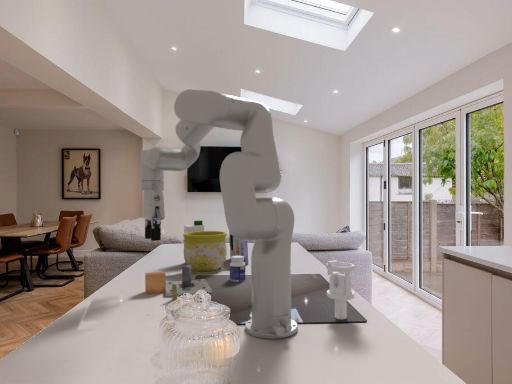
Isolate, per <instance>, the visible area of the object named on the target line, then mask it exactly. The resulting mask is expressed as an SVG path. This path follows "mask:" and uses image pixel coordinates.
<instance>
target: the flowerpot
mask: <svg viewBox="0 0 512 384" xmlns="http://www.w3.org/2000/svg"><path fill="white" fill-rule="evenodd" d="M227 235H228V234H227V232H226V231H220V230H204V231H196V232H187V233H184V232H183V234H182V236H183V238H184V237H185V240H184V239H183V257H184V258H183V259H184V263H185V262H186V263H185V264H186V265H190V266H191V275H198V274H199V275H200V274H210V273H212V274H213V273H221V271H223V267H222V266H223V265H224V264H225V262H226V259H227V254H228V250H227V242H226V241H227V238H226V236H227ZM184 242H185V244H184Z"/></svg>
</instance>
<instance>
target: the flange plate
mask: <svg viewBox="0 0 512 384" xmlns="http://www.w3.org/2000/svg"><path fill="white" fill-rule="evenodd" d="M144 273H145V274H144V278H145V280H144V283H145V284H144V285H145V286H144V287H145V288H144V289H145V290H144V292H145V295H146V294H147V295H148V294H158V293H159V294H160V293H165V294H164V295H165V297H166V298H168V297H172V284H177V297H178V296H180V295H181V296H183V295H182V294H184V293H190V294H192V295H196V294H195V293H196V291H198V290H199V289H204V290H205V291H207V292H208V293H207V294H211V293H212V292H213V291H212V290H213V289H212V287H211V286H210V285H209V283H208V281H207V279H205V278H199V279H191V287H185V288H182V280H175V281H167V280H166V278H167V277H166V275H167V274H166V271H152V272H151V271H149V272H144Z"/></svg>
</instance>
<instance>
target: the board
mask: <svg viewBox="0 0 512 384" xmlns="http://www.w3.org/2000/svg"><path fill="white" fill-rule="evenodd" d="M191 280H192V274H191V266H190V265H187V264H186V265H182V266H181V281H182V288H185V287H191ZM171 300H172V301H177V300H178V296H177V284H172V296H171Z"/></svg>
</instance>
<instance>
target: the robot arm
mask: <svg viewBox="0 0 512 384" xmlns="http://www.w3.org/2000/svg"><path fill="white" fill-rule="evenodd" d="M173 110H174V113H175V116H176V117H177V118H178V119H179V121H178V122H177V123H176V125H175V133H176V136H177V138H178V139H179V140H180V141H181V142H182V143H183V144H185V145H184V146H183V147H182V148H174V147H164V146H163V147H162V146H161V147H160V146H155V147H152V148H150V149H145V150H142V151H141V153H140V191H141V192H142V193H143V194H142V217H143V219H144V239H146V240H148V239H150V240H151V241H152V242H155V241H161V240H162V235H161V234H162V221H163V220H165V217H166V216H165V215H166V214H165V200H164V199H165V197H164V189H165V187H164V186H165V184H164V183H165V182H164V181H165V179H164V175H165V172H166V171H168V172H183V171H186V170H188V169H189V168H190V167H191V166H192V165H193V164H194V163H195V162H196V161H197V160H198V158H199V156H200V153H201V141H202V140H203V139H205V137H206V136H208V134H209V133H210V132H212V130H213V129H214V128H220V129H225V130H233V131H241V135H240V143H239V144H240V147H241V151H234V152H232V153H229V154H227V156H226V157H225V158H224V159H223V161H222V163H221V167H220V169H219V185H220V192H221V198H222V204H223V211H224V215H225V221H226V225H227V229H228V232H229V231H230V233H231V234H232V235H233V236H234V237H235V238H236V239H238V240H241V241H247V242H249V241H250V242H251V241H254V243H253V247H252V249H251V258H250V260H251V263H250V264H251V265H250V271H251V272H250V273H251V275H250V277H251V279H250V280H251V287H250V288H251V290H250V291H251V318H250V319H248V320H247V321H246V322H245V326H244V327H245V331H246V332H247V333H248V334H249V335H251V336H253V337H256V338H260V339H267V340H268V339H271V340H274V339H283V338H289V337H291V336H294V335H295V334H296V333H297V331H298V330H299V329H298V328H299V327H298V326H299V325H298V322H297V321H295V320H294V319H292V279H291V278H292V277H291V276H292V270H291V269H292V268H291V266H292V264H291V263H292V260H291V259H292V257H291V256H292V239H293V233H294V227H295V214H294V210H293V208H292V206H291V205H290V203H288V202H287V201H286V200H284V199H282V198H278V197H257V195H256V194H265V193H271V192H273V191H276V190H277V189H278V188H279V186H280V184H281V178H282V177H281V169H280V168H281V167H280V163H279V158H278V152H277V148H276V147H277V145H276V141H275V138H274V137H275V136H274V129H273V117H272V113H271V110H270V109H269V107H268V105H266V104H264V103H263V102H260V101H256V100H251V99H249V98H248V99H247V98H244V97H243V98H242V97H239V96H236V95H230V94H228V93H223V92H220V91H215V90H204V89H203V90H202V89H192V88H191V89H189V88H188V89H185V90H182V91H181V92H180V93H179V94H178V95H177V97H175V100H174V104H173Z"/></svg>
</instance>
